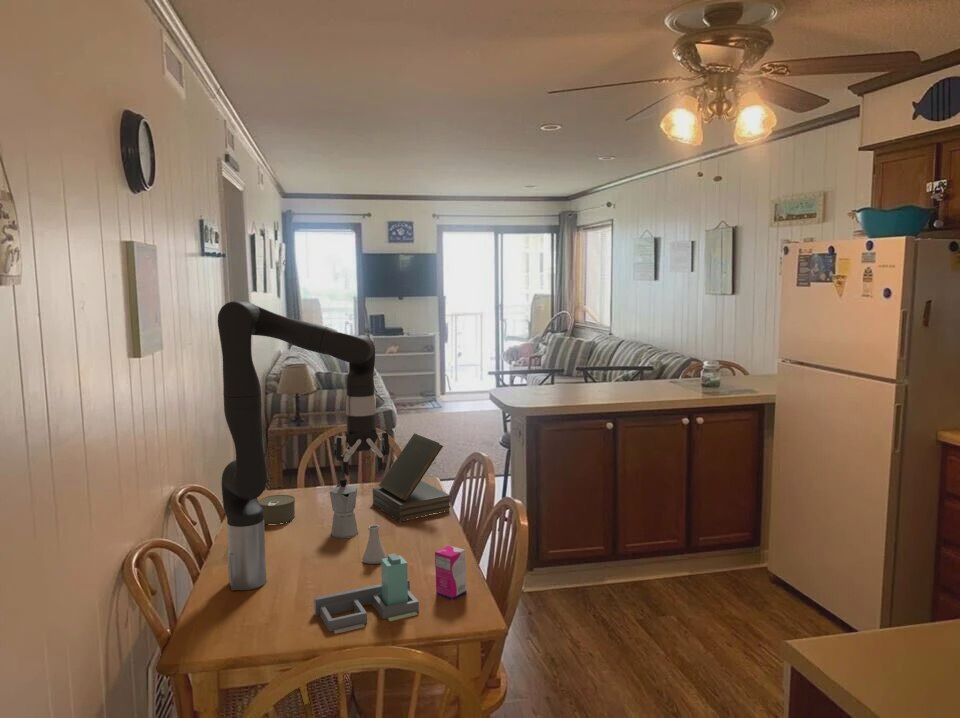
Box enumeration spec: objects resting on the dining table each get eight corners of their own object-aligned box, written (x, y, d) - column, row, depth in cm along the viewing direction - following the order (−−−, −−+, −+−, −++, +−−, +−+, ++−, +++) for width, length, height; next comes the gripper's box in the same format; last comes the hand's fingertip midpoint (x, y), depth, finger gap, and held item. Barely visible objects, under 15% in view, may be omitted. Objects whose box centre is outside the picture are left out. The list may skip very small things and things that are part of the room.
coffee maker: (362, 538, 215) (361, 482, 213) (334, 542, 212) (332, 485, 210) (353, 523, 229) (351, 470, 227) (326, 526, 226) (325, 473, 224)
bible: (372, 504, 249) (371, 437, 247) (420, 495, 260) (419, 431, 257) (399, 522, 230) (398, 450, 227) (450, 512, 240) (449, 442, 238)
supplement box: (450, 586, 180) (449, 544, 179) (467, 592, 176) (466, 549, 175) (434, 594, 176) (434, 551, 174) (452, 600, 172) (451, 556, 171)
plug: (388, 614, 165) (387, 562, 164) (382, 605, 169) (381, 555, 168) (408, 609, 167) (407, 558, 166) (401, 601, 172) (400, 551, 170)
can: (300, 514, 239) (300, 495, 238) (287, 526, 227) (286, 506, 226) (267, 513, 240) (267, 494, 239) (252, 525, 228) (252, 505, 227)
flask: (382, 565, 194) (381, 531, 193) (358, 564, 195) (357, 530, 194) (390, 556, 201) (389, 523, 200) (367, 554, 202) (366, 521, 201)
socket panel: (326, 635, 155) (325, 619, 154) (314, 613, 166) (313, 597, 165) (425, 613, 165) (424, 597, 165) (407, 593, 176) (407, 578, 176)
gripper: (337, 417, 171) (339, 480, 173) (391, 412, 177) (393, 473, 179) (330, 412, 178) (332, 473, 179) (382, 407, 184) (384, 466, 186)
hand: (362, 473), depth 179 cm, fingers open, 8 cm apart
